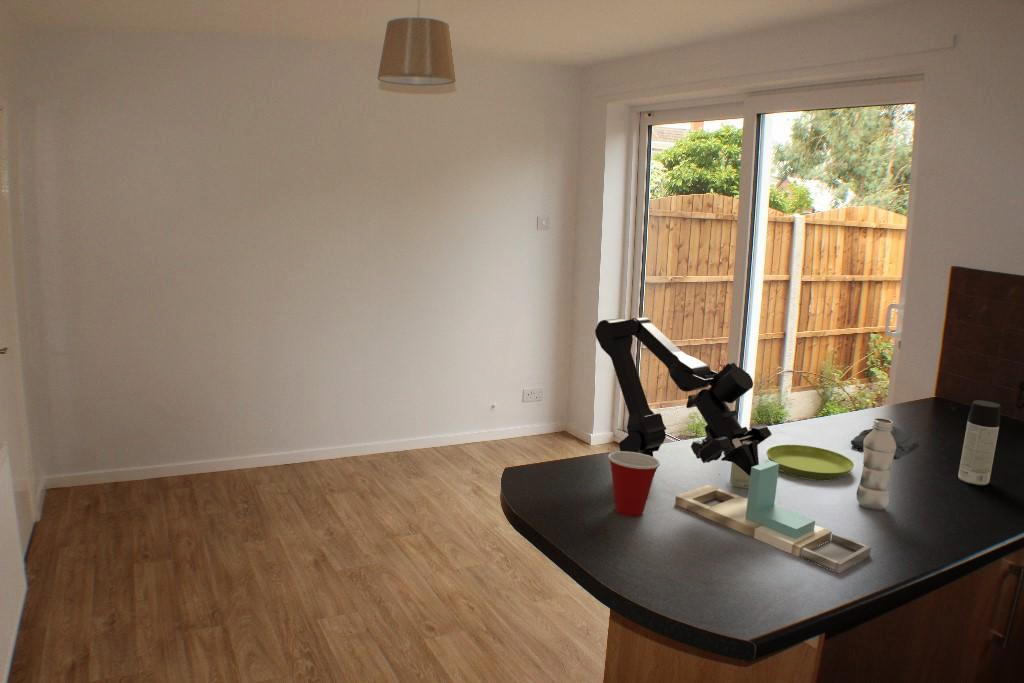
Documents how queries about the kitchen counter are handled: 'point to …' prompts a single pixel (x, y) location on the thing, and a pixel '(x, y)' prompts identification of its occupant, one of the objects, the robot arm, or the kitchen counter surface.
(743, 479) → the box
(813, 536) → the birch board
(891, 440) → the plastic bottle
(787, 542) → the cream pad
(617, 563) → the kitchen counter surface
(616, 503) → the plastic cup
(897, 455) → the dark grey crumpled cloth
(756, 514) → the teal L-block
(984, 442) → the spray can
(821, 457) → the saucer
